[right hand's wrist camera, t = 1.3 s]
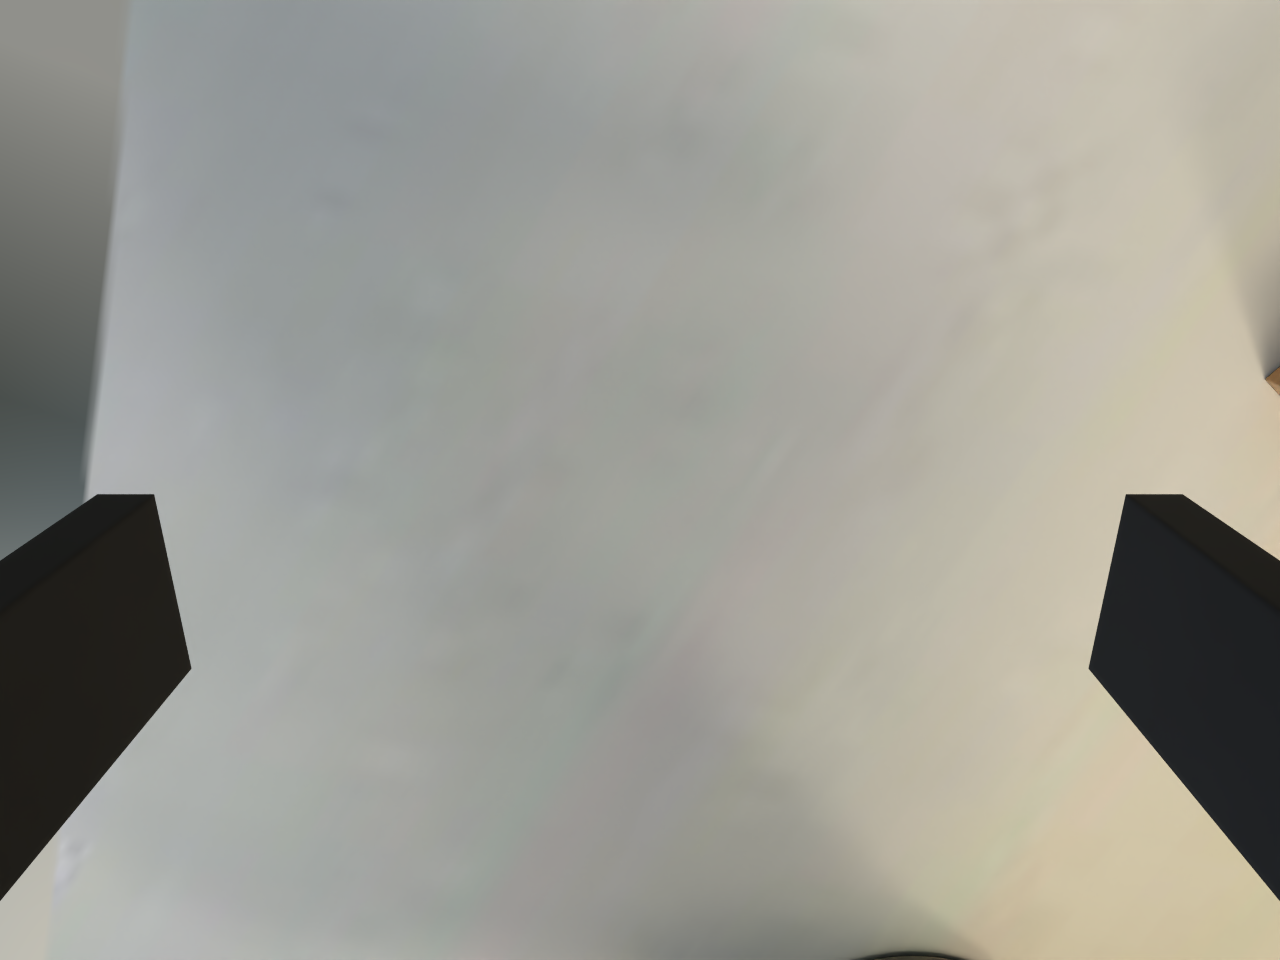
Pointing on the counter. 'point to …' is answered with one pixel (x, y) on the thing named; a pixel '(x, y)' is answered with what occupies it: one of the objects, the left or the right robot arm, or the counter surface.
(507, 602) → the counter surface
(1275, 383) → the post
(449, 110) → the counter surface
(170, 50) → the counter surface
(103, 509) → the right robot arm
